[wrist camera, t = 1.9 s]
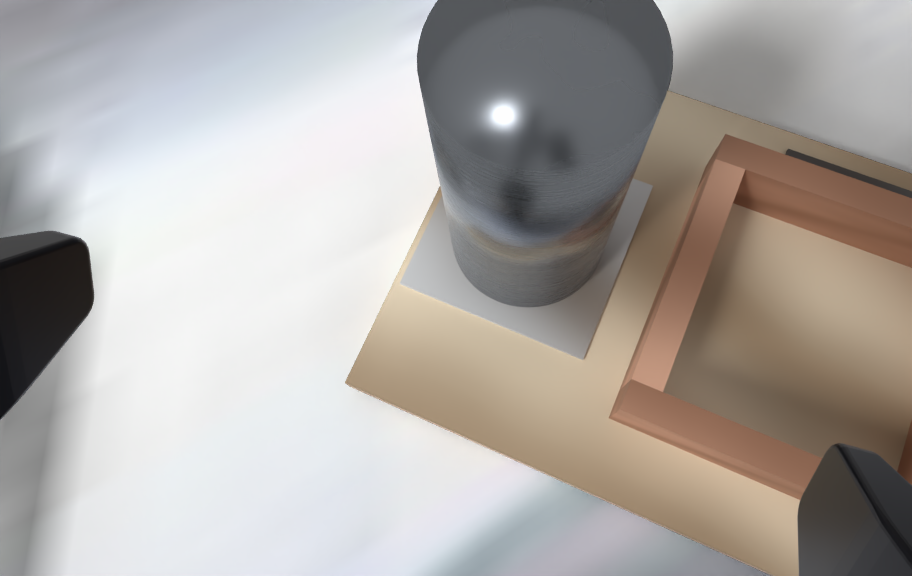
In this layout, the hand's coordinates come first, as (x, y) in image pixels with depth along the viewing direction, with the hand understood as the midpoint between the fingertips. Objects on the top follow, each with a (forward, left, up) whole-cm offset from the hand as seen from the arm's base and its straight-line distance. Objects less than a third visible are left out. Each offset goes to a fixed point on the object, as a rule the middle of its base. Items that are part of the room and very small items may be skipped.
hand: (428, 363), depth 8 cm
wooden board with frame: (+6, -4, -12) cm, 14 cm away
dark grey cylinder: (+6, +1, -11) cm, 13 cm away
